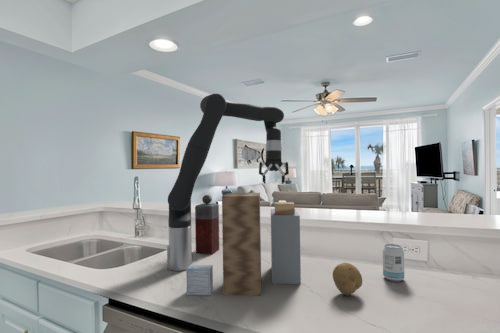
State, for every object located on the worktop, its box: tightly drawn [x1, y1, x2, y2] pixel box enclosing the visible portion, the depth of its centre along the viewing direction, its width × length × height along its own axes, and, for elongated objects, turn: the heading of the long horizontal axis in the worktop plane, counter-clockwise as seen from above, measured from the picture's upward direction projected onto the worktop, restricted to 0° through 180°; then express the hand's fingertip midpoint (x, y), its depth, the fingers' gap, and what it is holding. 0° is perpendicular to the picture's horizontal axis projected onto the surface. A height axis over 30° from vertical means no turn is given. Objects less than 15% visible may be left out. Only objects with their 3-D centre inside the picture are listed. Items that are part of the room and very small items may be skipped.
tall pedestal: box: [221, 192, 262, 297], centre depth 98 cm, size 12×12×32 cm
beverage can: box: [382, 243, 405, 283], centre depth 103 cm, size 7×7×12 cm
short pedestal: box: [270, 208, 302, 285], centre depth 108 cm, size 10×16×24 cm, turn 177°
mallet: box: [274, 199, 296, 215], centre depth 112 cm, size 20×7×4 cm, turn 176°
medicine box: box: [185, 264, 214, 296], centre depth 94 cm, size 8×4×9 cm, turn 84°
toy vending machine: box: [194, 194, 220, 255], centre depth 142 cm, size 9×11×28 cm
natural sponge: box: [332, 262, 363, 297], centre depth 91 cm, size 9×9×10 cm
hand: (273, 183), depth 137 cm, fingers open, 8 cm apart
